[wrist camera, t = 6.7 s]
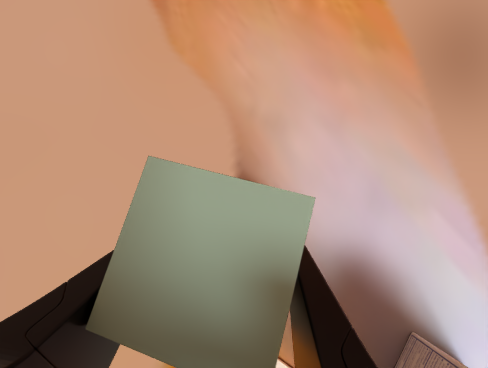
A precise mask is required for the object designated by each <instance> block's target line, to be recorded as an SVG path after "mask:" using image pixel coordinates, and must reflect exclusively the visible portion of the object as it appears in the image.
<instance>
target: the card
mask: <svg viewBox="0 0 488 368" xmlns="http://www.w3.org/2000/svg"><path fill="white" fill-rule="evenodd" d="M276 368H291V367H290V366H288V365H287V364H286V363H284V362H283V361H281V360H280V359H279V358H278V359H277V364H276Z"/></svg>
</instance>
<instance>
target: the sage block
mask: <svg viewBox="0 0 488 368" xmlns="http://www.w3.org/2000/svg"><path fill="white" fill-rule="evenodd" d="M314 202H315V197H311V196H307V195H303V194H299V193H295V192H291V191H287V190H283V189H279V188H275V187H271V186H267V185H263V184H259V183H255V182H251V181H247V180H243V179H239V178H235V177H231V176H227V175H223V174H219V173H215V172H211V171H207V170H203V169H199V168H195V167H191V166H187V165H184V164H180V163H175V162H172V161H168V160H164V159H159V158H156V157H152V156H148V159H147V162H146V165H145V167H144V170H143V172H142V176H141V178H140V181H139V183H138V186H137V189H136V192H135V194H134V197H133V200H132V203H131V205H130V208H129V211H128V214H127V216H126V219H125V222H124V225H123V227H122V230H121V233H120V236H119V238H118V241H117V244H116V247H115V249H114V252H113V255H112V257H111V260H110V263H109V266H108V268H107V271H106V274H105V277H104V279H103V282H102V285H101V288H100V290H99V293H98V296H97V299H96V301H95V304H94V307H93V310H92V312H91V315H90V318H89V321H88V323H87V326H86V330H88V331H91V332H93V333H95V334H98V335H100V336H103V337H105V338H107V339H110V340H112V341H114V342H117V343H119V344H121V345H124V346H127V347H129V348H131V349H133V350H136V351H138V352H141V353H143V354H145V355H148V356H150V357H152V358H155V359H157V360H159V361H162V362H164V363H167V364H169V365H171V366H174V367H176V368H276V364H277V359H278V355H279V351H280V347H281V342H282V338H283V334H284V330H285V325H286V321H287V317H288V313H289V308H290V304H291V300H292V296H293V291H294V287H295V283H296V278H297V274H298V270H299V266H300V261H301V257H302V253H303V249H304V244H305V240H306V236H307V232H308V227H309V223H310V219H311V215H312V210H313V206H314Z"/></svg>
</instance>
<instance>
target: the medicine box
mask: <svg viewBox="0 0 488 368" xmlns="http://www.w3.org/2000/svg"><path fill="white" fill-rule="evenodd" d="M395 368H468V367H466V366H465V365H463V364H462V363H460V362H459V361H457V360H456V359H454V358H453V357H451V356H450V355H448V354H447V353H445V352H444V351H442V350H441V349H439V348H437V347H436V346H434V345H433V344H431V343H430V342H428V341H427V340H425V339H423V338H422V337H420V336H419V335H417V334H416V333H414V332H412V333H411V335H410V337H409V339H408V341H407V343H406V345H405V348H404V350H403V352H402V354H401V356H400V358H399V360H398V362H397V364H396V366H395Z"/></svg>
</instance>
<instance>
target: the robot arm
mask: <svg viewBox="0 0 488 368" xmlns="http://www.w3.org/2000/svg"><path fill="white" fill-rule="evenodd" d="M113 252H114V250H113V251H112V252H110V253H108V254H107V255H105V256H104V257H102V258H101V259H99V260H98V261H96V262H95V263H93V264H92V265H90V266H89V267H87V268H86V269H84V270H83V271H81V272H80V273H78V274H77V275H75V276H74V277H72V278H71V279H69V280H68V282H65V283H63V284H62V285H60V286H59V287H57V288H56V289H54V290H53V291H51V292H50V293H48V294H46V295H45V296H43V297H42V298H40V299H39V300H37V301H36V302H34V303H32V304H30V305H29V306H27V307H25V308H24V309H22V310H20V311H19V312H17V313H15V314H13V315H12V316H10V317H8V318H6V319H5V320H3V321H1V322H0V368H109V366H110V364H111V362H112V360H113V358H114V356H115V354H116V352H117V350H118V348H119V345H120V344H119V343H117V342H114V341H112V340H110V339H107V338H105V337H103V336H100V335H98V334H95V333H93V332H91V331H88V330H86V326H87V323H88V321H89V318H90V315H91V312H92V310H93V307H94V304H95V301H96V299H97V296H98V293H99V290H100V288H101V285H102V282H103V279H104V277H105V274H106V271H107V268H108V266H109V263H110V260H111V257H112V255H113ZM290 315H291V327H292V339H293V351H294V364H295V368H378V367H377V365H376V364H375V363H374V361H373V360H372V358H371V357H370V355H369V353H368V352H367V350H366V348H365V347H364V345H363V344H362V342H361V340H360V339H359V337H358V335H357V333H356V332H355V330H354V328H352V325H351V323H350V322H349V320H348V318H347V316H346V315H345V313H344V311H343V310H342V308H341V306H340V304H339V303H338V301H337V299H336V297H335V296H334V294H333V292H332V291H331V289H330V287H329V285H328V284H327V282H326V280H325V279H324V277H323V275H322V273H321V272H320V270H319V268H318V267H317V265H316V263H315V261H314V260H313V258H312V256H311V254H310V253H309V251H308V249H307V248H306V246H305V245H304V249H303V253H302V257H301V261H300V266H299V270H298V274H297V278H296V283H295V287H294V291H293V296H292V300H291V304H290Z"/></svg>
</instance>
